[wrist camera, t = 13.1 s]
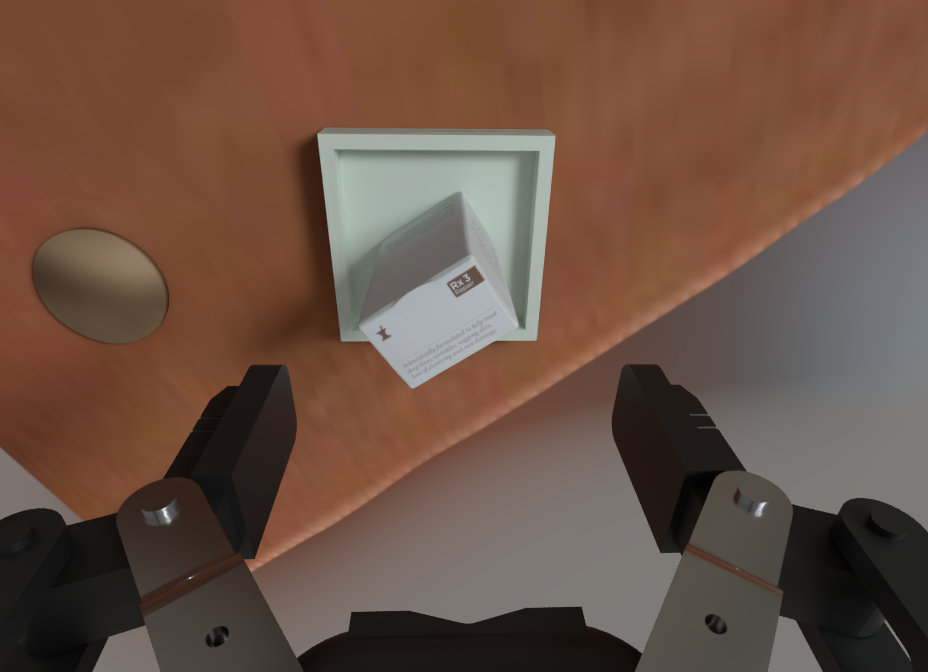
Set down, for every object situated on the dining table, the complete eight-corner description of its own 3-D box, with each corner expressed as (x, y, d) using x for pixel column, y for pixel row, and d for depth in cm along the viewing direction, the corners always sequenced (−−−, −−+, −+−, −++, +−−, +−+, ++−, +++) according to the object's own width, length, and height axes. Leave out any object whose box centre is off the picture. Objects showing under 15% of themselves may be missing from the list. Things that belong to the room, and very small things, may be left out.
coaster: (18, 227, 33) (11, 230, 33) (150, 227, 33) (145, 230, 33) (64, 339, 37) (59, 343, 37) (182, 338, 37) (178, 343, 37)
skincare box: (420, 291, 35) (410, 400, 25) (378, 236, 33) (349, 330, 23) (500, 241, 34) (525, 336, 23) (461, 181, 32) (470, 254, 21)
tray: (325, 127, 31) (317, 133, 29) (548, 129, 31) (555, 136, 29) (346, 325, 37) (341, 341, 35) (531, 324, 38) (536, 340, 36)
